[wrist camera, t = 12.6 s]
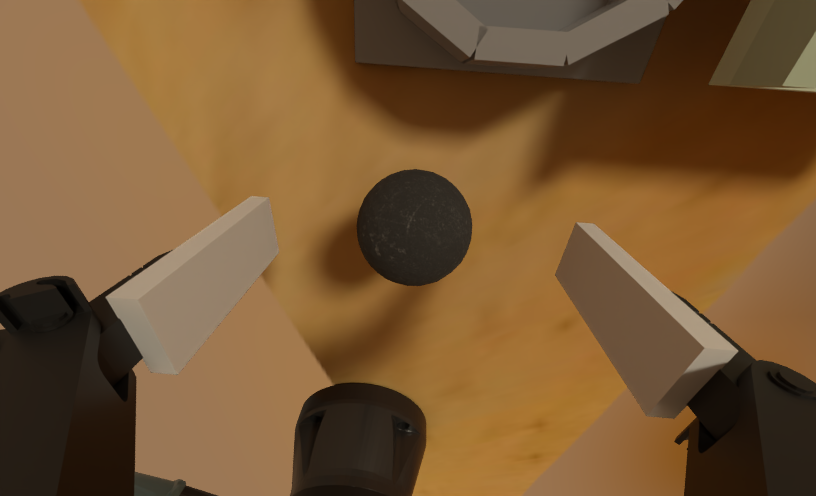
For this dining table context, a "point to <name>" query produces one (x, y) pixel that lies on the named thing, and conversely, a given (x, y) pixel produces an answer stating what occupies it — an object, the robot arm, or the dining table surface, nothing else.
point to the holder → (513, 36)
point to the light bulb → (414, 227)
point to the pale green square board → (772, 48)
